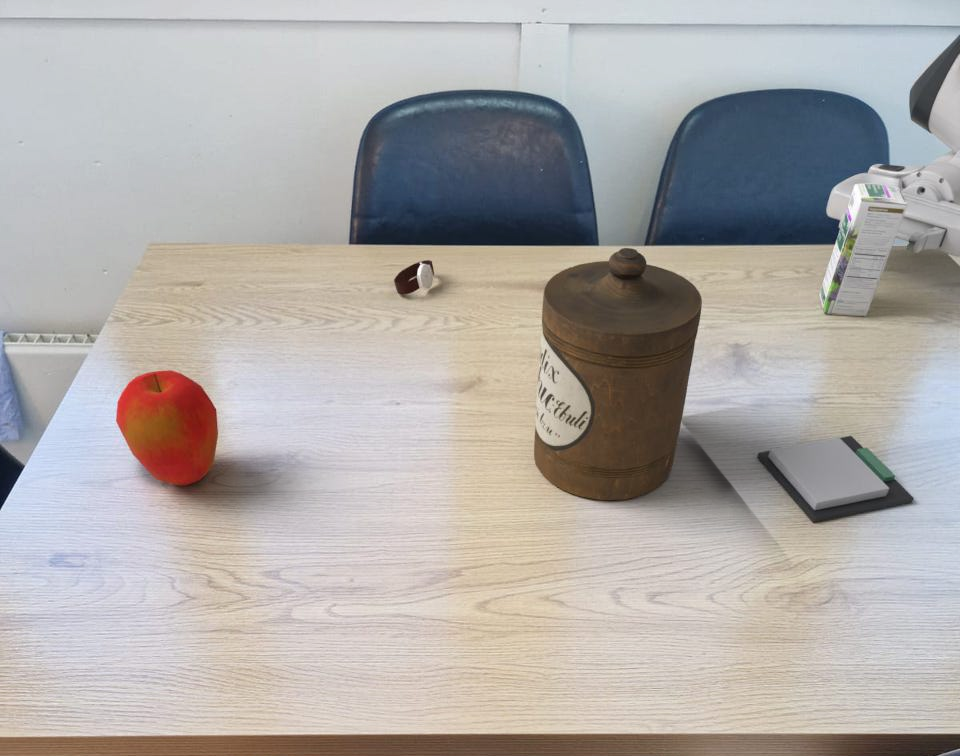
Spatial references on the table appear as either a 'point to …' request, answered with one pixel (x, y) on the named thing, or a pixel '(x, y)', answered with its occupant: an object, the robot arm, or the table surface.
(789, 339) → the table surface
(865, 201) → the syrup box
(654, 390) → the wooden container
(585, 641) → the table surface
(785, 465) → the scale
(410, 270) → the watch
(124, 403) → the apple
